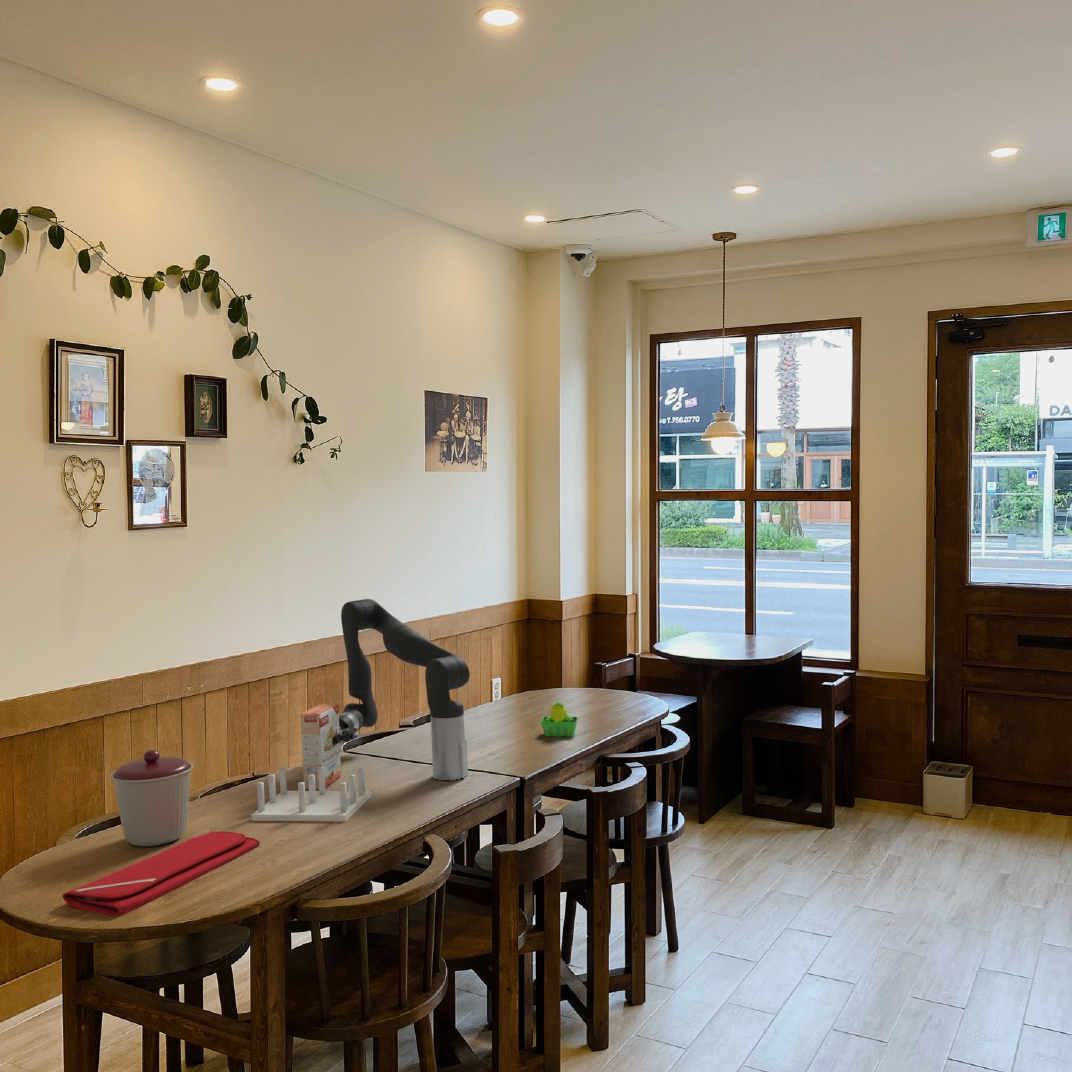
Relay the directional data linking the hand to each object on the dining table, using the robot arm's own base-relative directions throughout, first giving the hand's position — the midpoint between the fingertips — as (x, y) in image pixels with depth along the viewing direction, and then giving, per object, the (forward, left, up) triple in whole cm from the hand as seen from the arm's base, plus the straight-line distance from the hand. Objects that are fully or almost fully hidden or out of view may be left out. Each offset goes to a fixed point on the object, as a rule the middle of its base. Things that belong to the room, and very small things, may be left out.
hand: (322, 741), depth 278 cm
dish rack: (-5, +23, -12) cm, 26 cm away
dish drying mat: (+10, +67, -12) cm, 69 cm away
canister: (+24, +47, -12) cm, 54 cm away
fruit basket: (-59, -54, -12) cm, 81 cm away
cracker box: (0, +1, -12) cm, 12 cm away
